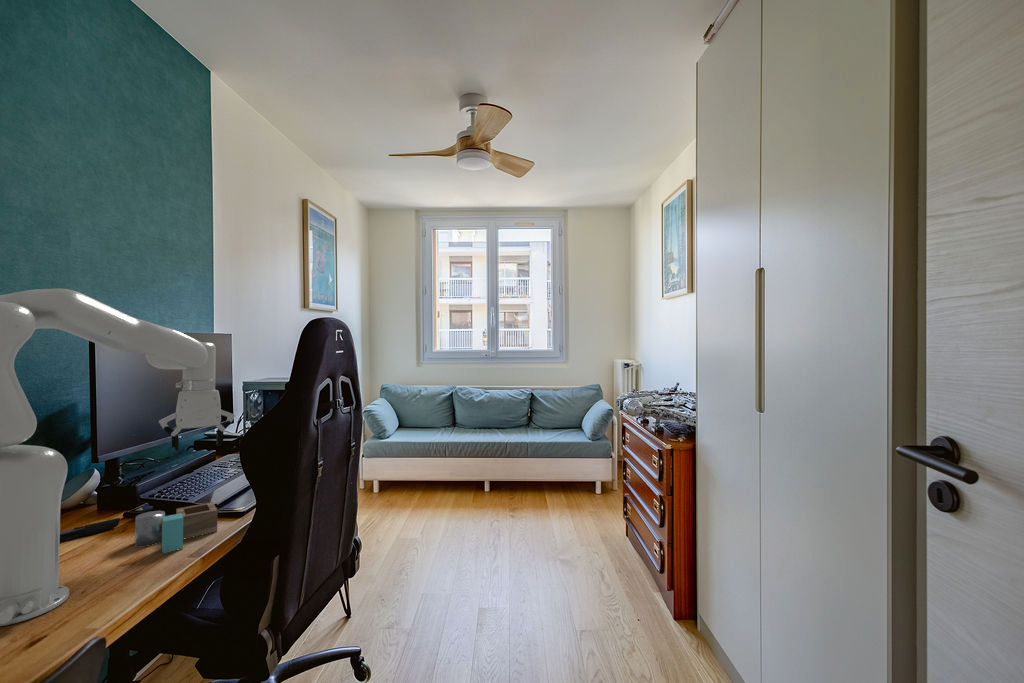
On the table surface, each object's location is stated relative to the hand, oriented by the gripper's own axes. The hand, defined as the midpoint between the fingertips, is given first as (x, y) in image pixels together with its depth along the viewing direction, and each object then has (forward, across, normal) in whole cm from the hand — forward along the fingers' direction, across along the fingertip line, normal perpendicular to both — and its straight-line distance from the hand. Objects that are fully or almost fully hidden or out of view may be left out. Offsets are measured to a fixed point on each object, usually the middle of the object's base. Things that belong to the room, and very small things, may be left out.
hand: (197, 447), depth 123 cm
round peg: (+23, -10, 0) cm, 25 cm away
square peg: (+23, -6, -9) cm, 26 cm away
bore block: (+23, 0, 0) cm, 23 cm away
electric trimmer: (+24, -24, +16) cm, 38 cm away
